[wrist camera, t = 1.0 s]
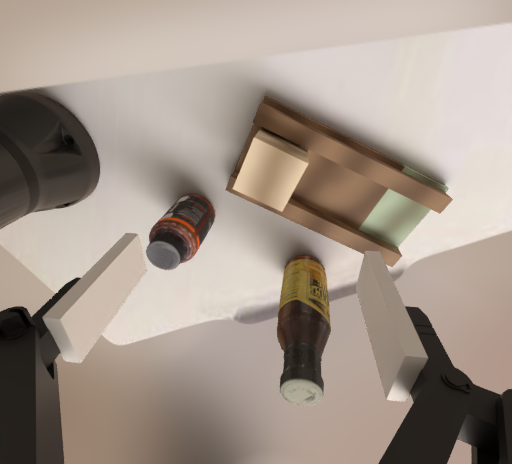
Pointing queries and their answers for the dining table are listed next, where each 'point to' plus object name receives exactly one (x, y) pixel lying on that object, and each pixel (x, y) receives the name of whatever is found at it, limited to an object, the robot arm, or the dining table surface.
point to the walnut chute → (347, 186)
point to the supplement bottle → (180, 232)
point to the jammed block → (271, 169)
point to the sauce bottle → (303, 329)
